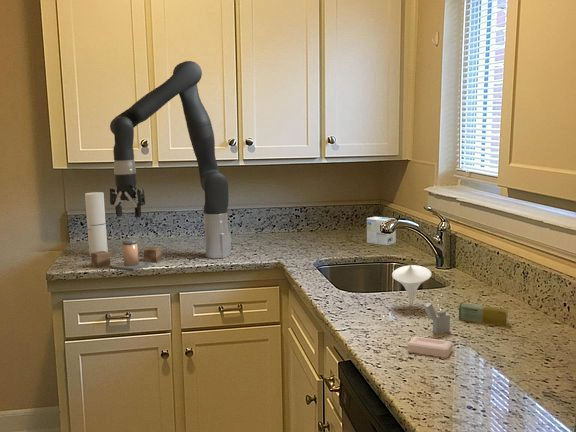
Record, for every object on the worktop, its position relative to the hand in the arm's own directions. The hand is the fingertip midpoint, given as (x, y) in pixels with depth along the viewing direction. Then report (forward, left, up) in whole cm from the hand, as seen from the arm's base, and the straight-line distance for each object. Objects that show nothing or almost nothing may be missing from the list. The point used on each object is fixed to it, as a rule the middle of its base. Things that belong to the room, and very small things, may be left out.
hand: (128, 216), depth 221 cm
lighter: (-118, +28, -19) cm, 123 cm away
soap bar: (-119, +40, -19) cm, 127 cm away
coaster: (0, 0, -19) cm, 19 cm away
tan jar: (0, 0, -18) cm, 18 cm away
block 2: (-2, -10, -19) cm, 21 cm away
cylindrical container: (+27, -12, -19) cm, 35 cm away
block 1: (+12, +3, -19) cm, 22 cm away
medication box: (-127, +15, -19) cm, 129 cm away
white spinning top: (-107, +9, -19) cm, 109 cm away
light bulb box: (-74, -71, -19) cm, 104 cm away
